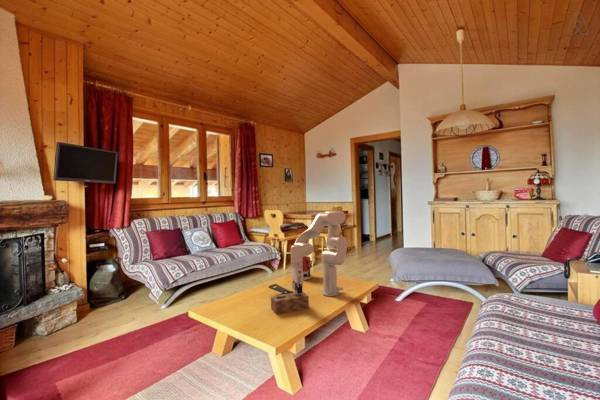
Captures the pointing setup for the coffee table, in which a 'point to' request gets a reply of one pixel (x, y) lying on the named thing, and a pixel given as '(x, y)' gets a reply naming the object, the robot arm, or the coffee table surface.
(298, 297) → the slotted wooden block
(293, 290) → the pinkish wooden bar
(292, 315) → the coffee table surface
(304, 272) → the santa figurine
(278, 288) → the zipper pull
